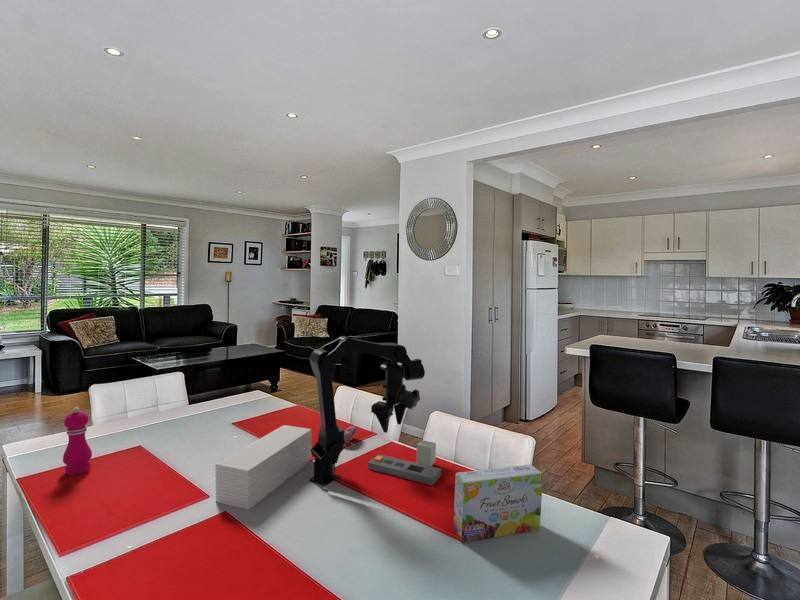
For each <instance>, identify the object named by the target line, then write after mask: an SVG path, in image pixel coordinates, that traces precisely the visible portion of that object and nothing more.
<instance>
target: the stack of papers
mask: <svg viewBox="0 0 800 600" xmlns="http://www.w3.org/2000/svg"><path fill="white" fill-rule="evenodd" d="M311 449H312V429H311V428H306V427H299V426H292V425H285V424H284V425H281V426H280V427H278V428H276V429H274V430H273V431H270V432H269V433H268V434H265V435H264V436H262V437H261V438H259V439H257V440H255V441H253V442H252V443H250V444H248V445H246V446H245V447H243V448H241V449H239V450H238V451H236V452H234V453H232V454H231V455H229V456H227V457H226V458H223V459H222V460H220V461H219V462H216V463H215V465H214V467H215V468H214V469H215V476H214V477H215V502H216V503H220V504H222V505H223V504H224V505H228V506H232V507H235V508H236V507H237V508H241V509H244V510H250V509H251V508H252V507H254V506H255V505H256V504H257V503H259V502H260V501H261V500H262V499H264V498H265V497H267V495H269V494H270V493H271V492H272V491H274V490H275V489H276V488H277V487H279V486H280V485H281V484H283V483H284V482H285V481H286V480H288V479H289V478H291V477H292V476H293V475H294V474H295V473H297V472H298V471H299V470H301V468H303V467H304V466H306V465H307V464H308V463H309V462H311V461H312V453H311ZM310 460H311V461H310Z"/></svg>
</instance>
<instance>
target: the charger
mask: <svg viewBox="0 0 800 600" xmlns="http://www.w3.org/2000/svg"><path fill="white" fill-rule="evenodd" d="M436 449H437V443H436V442H433V441H427V440H420V441H419V442H418V443H416V456H415V457H416V461H415V463H418V464H422V465H426V466H431V467H433V466H434V463H436V459H437V458H436V456H437V455H436V453H437V452H436Z"/></svg>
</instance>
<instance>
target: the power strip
mask: <svg viewBox="0 0 800 600" xmlns="http://www.w3.org/2000/svg"><path fill="white" fill-rule="evenodd" d="M367 469H368V470H370V471H374V472H378V473H383V474H386V475H391V476H394V477H399V478H401V479H402V478H403V479H406V480H410V481H413V482H418V483H422V484H426V485H430V486H433V485H434V484H435V483H436V482H437V481H439V478H440V477H441V476H442V468H438V467H434V466H426V465H422V464H418V463H416V462H413V461H408V460H406V459H405V460H404V459H399V458H396V457H392V456H387V455H384V454H377V455H376V456H375V457H373V458H372V459H370V460H369V461H368V462H367Z"/></svg>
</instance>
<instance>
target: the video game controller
mask: <svg viewBox="0 0 800 600" xmlns="http://www.w3.org/2000/svg"><path fill="white" fill-rule="evenodd" d="M357 430H358V427H357V426H355V425H354V426H353V425H351V426H348V427H347V428H346V430H345V431H344V441H345V442H346V443H345V444H344V443H343V444H344V445H348V444H349V443H350V442H351V441H352V440H353V438H354V435H355V434H356V432H357Z"/></svg>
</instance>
